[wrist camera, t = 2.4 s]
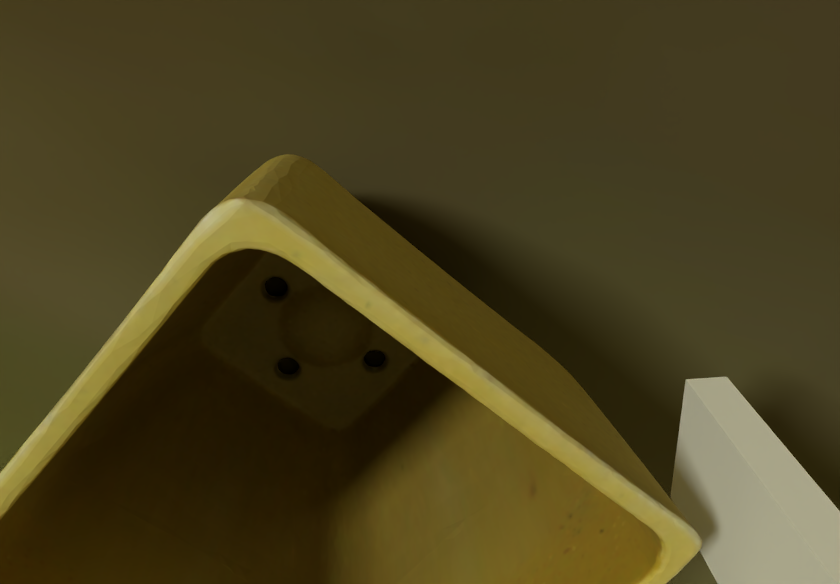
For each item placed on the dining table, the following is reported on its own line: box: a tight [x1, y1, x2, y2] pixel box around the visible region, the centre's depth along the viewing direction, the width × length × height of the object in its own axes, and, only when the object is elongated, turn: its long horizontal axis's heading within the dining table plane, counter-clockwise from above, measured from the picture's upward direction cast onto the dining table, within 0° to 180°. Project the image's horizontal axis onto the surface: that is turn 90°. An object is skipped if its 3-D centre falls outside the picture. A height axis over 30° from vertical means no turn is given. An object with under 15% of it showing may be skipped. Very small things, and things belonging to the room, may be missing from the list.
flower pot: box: [0, 154, 702, 584], centre depth 14 cm, size 9×9×9 cm
